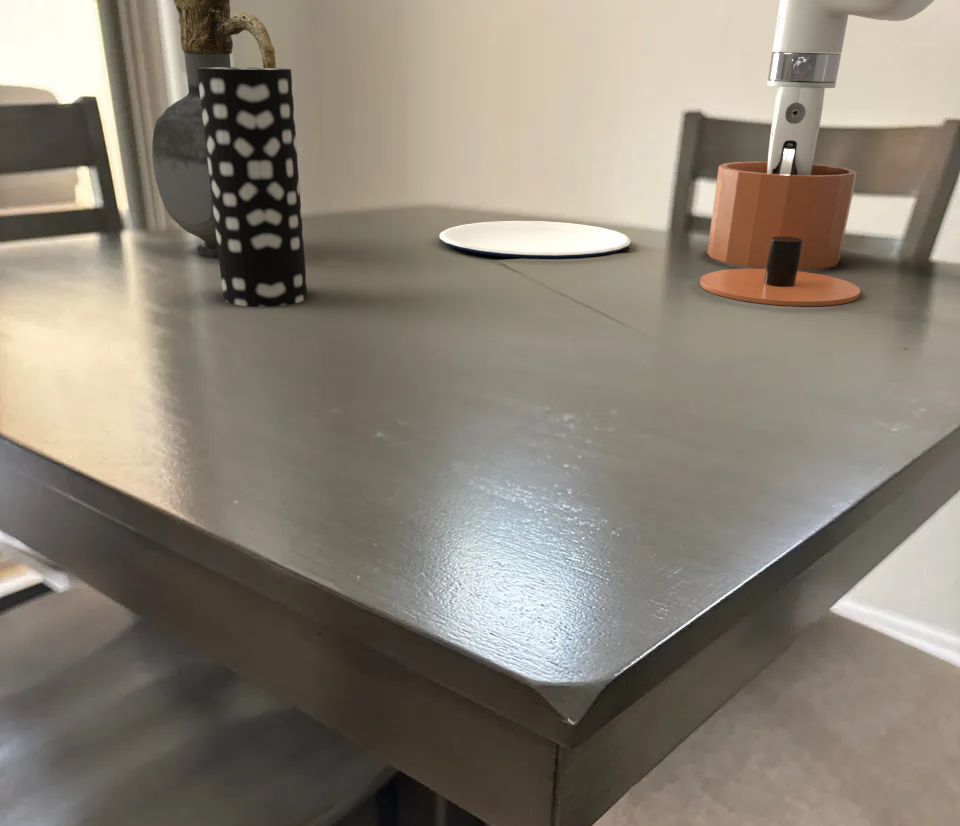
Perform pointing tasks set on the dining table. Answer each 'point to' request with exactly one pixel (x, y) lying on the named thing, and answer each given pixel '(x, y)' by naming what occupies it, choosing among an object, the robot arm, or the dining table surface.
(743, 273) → the lid
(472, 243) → the plate
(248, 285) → the white-spotted black cylinder
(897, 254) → the dining table surface
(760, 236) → the pot
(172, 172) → the pitcher
